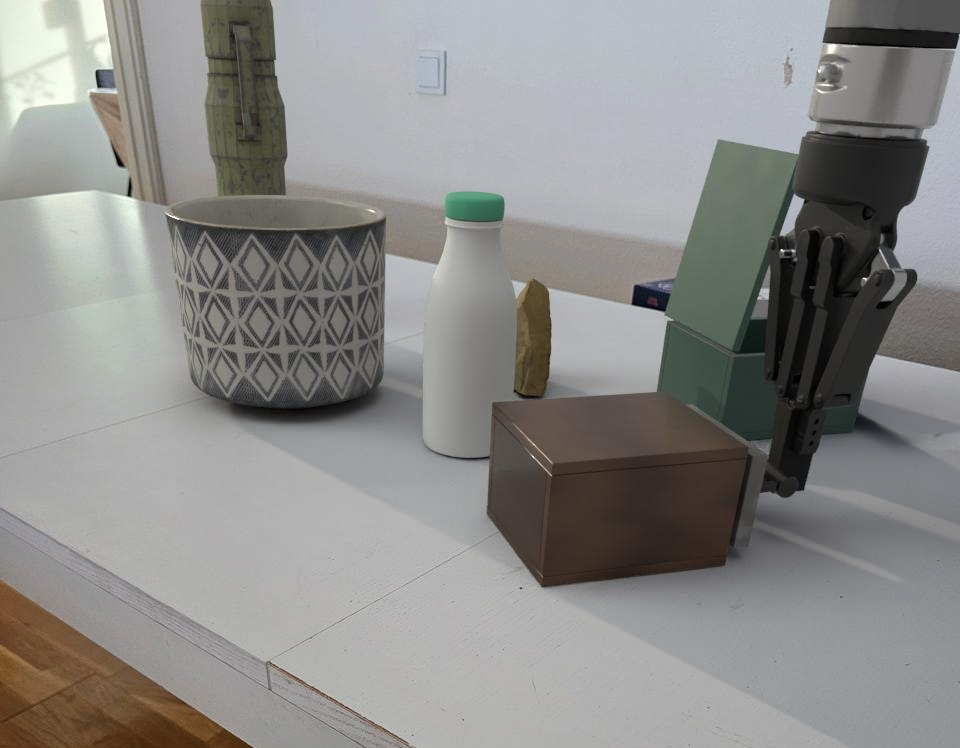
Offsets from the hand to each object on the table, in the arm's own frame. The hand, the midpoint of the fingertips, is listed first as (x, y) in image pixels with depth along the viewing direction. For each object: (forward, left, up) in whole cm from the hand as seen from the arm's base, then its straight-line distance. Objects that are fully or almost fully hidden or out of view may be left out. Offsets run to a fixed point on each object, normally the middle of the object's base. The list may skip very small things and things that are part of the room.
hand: (782, 487), depth 70 cm
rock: (+9, -36, -3) cm, 37 cm away
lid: (-6, -22, +13) cm, 26 cm away
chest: (-11, -22, -3) cm, 25 cm away
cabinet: (+15, 0, -3) cm, 15 cm away
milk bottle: (+19, -20, -3) cm, 27 cm away
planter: (+32, -37, -3) cm, 49 cm away
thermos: (+31, -69, -3) cm, 76 cm away
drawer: (+10, 0, -2) cm, 10 cm away
